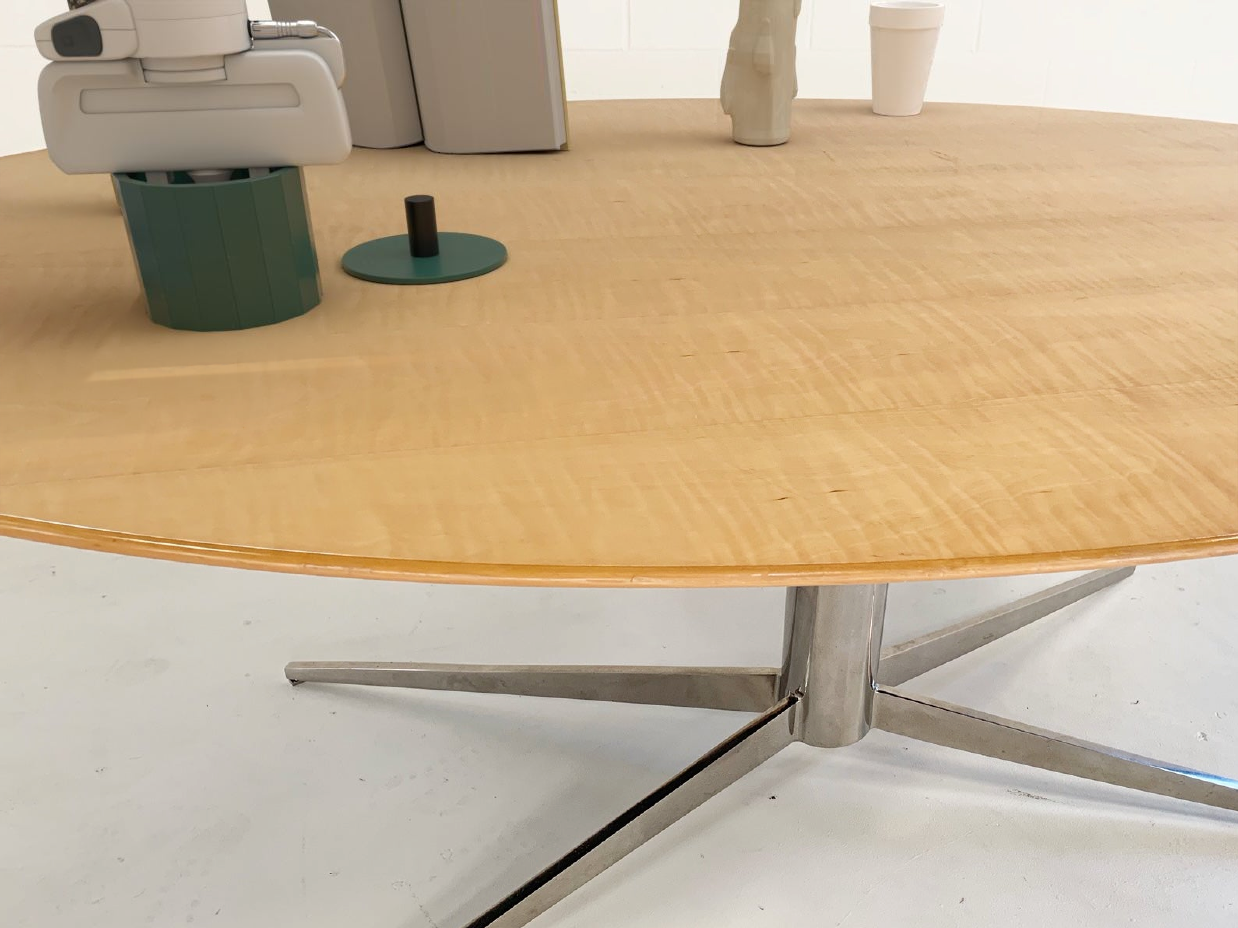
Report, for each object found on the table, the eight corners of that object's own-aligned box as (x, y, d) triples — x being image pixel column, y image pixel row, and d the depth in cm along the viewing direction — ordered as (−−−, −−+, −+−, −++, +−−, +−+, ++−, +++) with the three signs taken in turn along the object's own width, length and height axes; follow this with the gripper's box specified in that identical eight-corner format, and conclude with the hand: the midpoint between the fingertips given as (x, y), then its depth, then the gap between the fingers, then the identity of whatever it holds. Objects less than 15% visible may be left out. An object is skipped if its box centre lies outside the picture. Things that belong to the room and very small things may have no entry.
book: (575, 145, 137) (553, -90, 121) (550, 168, 131) (523, -75, 116) (313, 128, 147) (261, -89, 132) (279, 149, 142) (221, -76, 126)
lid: (337, 296, 90) (326, 223, 87) (349, 248, 101) (340, 182, 98) (511, 287, 91) (506, 215, 88) (504, 240, 103) (499, 176, 100)
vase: (774, 151, 135) (790, -154, 119) (709, 144, 138) (716, -153, 122) (803, 138, 141) (822, -153, 125) (740, 131, 144) (751, -152, 129)
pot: (132, 343, 81) (93, 190, 76) (168, 289, 92) (136, 150, 86) (314, 333, 83) (289, 182, 77) (329, 280, 93) (308, 144, 88)
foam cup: (944, 110, 156) (957, 3, 149) (909, 120, 150) (921, 9, 143) (883, 103, 161) (894, -1, 154) (847, 112, 155) (856, 5, 149)
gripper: (342, 13, 81) (369, 214, 88) (36, 20, 78) (89, 226, 86) (335, 23, 75) (364, 236, 83) (6, 31, 73) (65, 250, 80)
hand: (222, 231), depth 84 cm, fingers closed on rook chess piece, 3 cm apart
